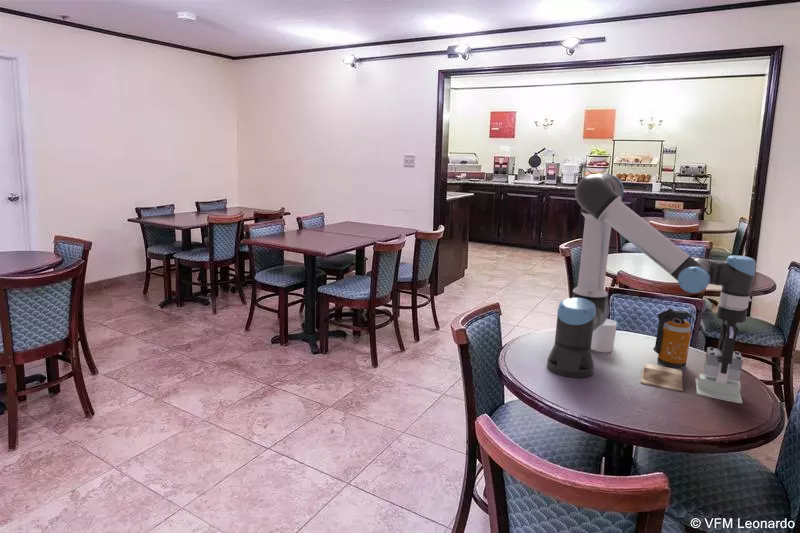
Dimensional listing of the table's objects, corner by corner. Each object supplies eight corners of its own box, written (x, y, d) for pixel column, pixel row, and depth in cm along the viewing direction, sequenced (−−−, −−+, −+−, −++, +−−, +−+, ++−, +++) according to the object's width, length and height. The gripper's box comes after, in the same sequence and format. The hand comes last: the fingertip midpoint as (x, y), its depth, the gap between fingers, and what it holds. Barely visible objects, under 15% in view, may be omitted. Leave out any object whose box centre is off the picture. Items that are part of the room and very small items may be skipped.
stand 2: (696, 394, 166) (699, 382, 165) (695, 380, 176) (697, 368, 176) (742, 403, 161) (744, 391, 160) (737, 388, 171) (739, 376, 171)
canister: (688, 371, 183) (698, 315, 179) (654, 367, 185) (662, 312, 181) (681, 361, 192) (690, 307, 187) (648, 358, 194) (656, 304, 189)
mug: (622, 348, 203) (625, 321, 200) (605, 355, 195) (608, 326, 193) (601, 341, 209) (604, 314, 207) (584, 347, 202) (587, 320, 199)
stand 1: (640, 383, 173) (642, 371, 172) (642, 369, 183) (643, 358, 182) (682, 391, 168) (684, 379, 167) (681, 377, 178) (683, 366, 177)
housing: (705, 375, 166) (709, 352, 165) (703, 367, 172) (707, 346, 170) (738, 381, 163) (743, 358, 161) (736, 373, 168) (740, 351, 167)
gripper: (752, 317, 152) (737, 392, 158) (743, 301, 170) (730, 369, 175) (721, 313, 155) (708, 387, 161) (716, 297, 173) (704, 364, 178)
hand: (720, 377), depth 168 cm, fingers closed on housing, 6 cm apart
